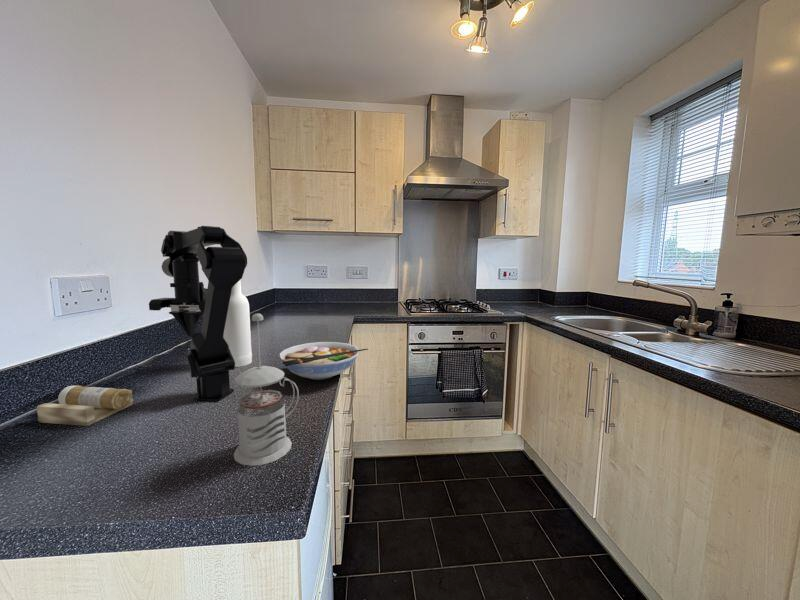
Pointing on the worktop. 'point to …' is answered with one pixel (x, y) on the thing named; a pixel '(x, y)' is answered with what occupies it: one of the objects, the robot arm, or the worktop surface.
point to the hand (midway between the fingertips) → (190, 335)
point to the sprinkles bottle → (95, 397)
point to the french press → (262, 415)
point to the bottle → (238, 327)
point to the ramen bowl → (319, 359)
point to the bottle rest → (73, 413)
